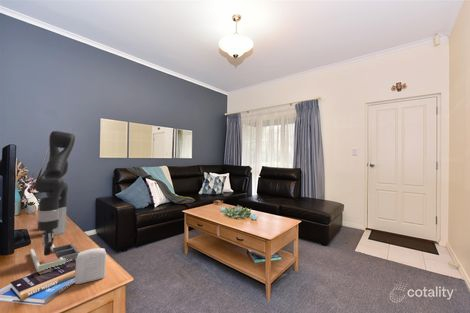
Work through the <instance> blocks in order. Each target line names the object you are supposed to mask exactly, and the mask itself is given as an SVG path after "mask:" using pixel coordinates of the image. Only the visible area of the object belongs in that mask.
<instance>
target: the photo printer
mask: <svg viewBox="0 0 470 313" xmlns="http://www.w3.org/2000/svg"><path fill="white" fill-rule="evenodd" d="M79 252H80V253H78V256H77V258H76V259H75V274H74V284H75V285H80V284H84V283H88V282H93V281H97V280H101V279H105V276H106V264H107V263H106V262H107V260H106V259H107V253H106V248H102V247H100V248H99V247H97V248H90V249H86V250H82V251H79Z"/></svg>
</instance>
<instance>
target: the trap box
mask: <svg viewBox="0 0 470 313" xmlns="http://www.w3.org/2000/svg"><path fill="white" fill-rule="evenodd" d="M80 252H81V251H79V250H78V248H77V247H75V245H74V244H73V243H69V244H64V245H60V246H55V243H53V244H52V247H51V253H53V254H54V253H55V256H57V258H58V259H59V260H57V261H53V262H49V263H46V264H43V263H42V264H40V261H39V259H38V256H37V254H36V251H35V249H34V248H30V257H31V260H32V262H33V265H34V269H35V271H36V270H37V271H42V270H45V269H48V268H51V267H55V266H58V265H62V264H65V263H67V261H66V260H67V259H73V260H76V258H77V256H78V253H80ZM37 271H36V272H37Z"/></svg>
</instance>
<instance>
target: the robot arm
mask: <svg viewBox="0 0 470 313" xmlns="http://www.w3.org/2000/svg"><path fill="white" fill-rule="evenodd" d="M75 136H76V135H75V134H73V133H70V132H65V131H58V130H53V131H51V132H50V135H49V139H48V140H49V142H48V143H49V146H48V147H49V157H48V158H49V159H48V162H47V163H46V167H45V169H44V171H43V173H42V174H41V175H40V176H39V177H38V179H37V180H36V181H35V183H34V189H35V191H36V192H37V193H45V194H46V197H42V198H41V199H40V200H39V207H38V208H39V210H38V214H37V215H38V217H37V218H38V219H37V230H38V231H39V232H41V237H42V245H43V255H44V256H45V257H46V256H49V255H51V253H52V250H51V247H52V244H54V240H55V238H54V236H57V235H62V234H65V233H66V231H67V230H66V227H67V199H68V191H69V190H68V187H69V186H68V183H66V182H65V181H64V179H63V178H62V177H64V176H65V175H66V174H67V173H68V169H69V162H68V159H69V157H70V154H71V152H72V150H73V148H74V146H75V140H76V139H75V138H76V137H75ZM59 149H63V150H61V151H60V150H59Z"/></svg>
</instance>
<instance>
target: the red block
mask: <svg viewBox="0 0 470 313" xmlns="http://www.w3.org/2000/svg"><path fill="white" fill-rule="evenodd" d="M57 260H59V257H58V258H57V256H56V255H53V256H49V257H46V258H43V259H42V264H46V263H49V262H53V261H57Z"/></svg>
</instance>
